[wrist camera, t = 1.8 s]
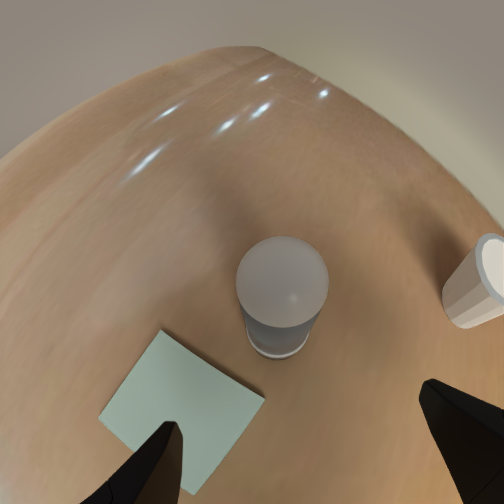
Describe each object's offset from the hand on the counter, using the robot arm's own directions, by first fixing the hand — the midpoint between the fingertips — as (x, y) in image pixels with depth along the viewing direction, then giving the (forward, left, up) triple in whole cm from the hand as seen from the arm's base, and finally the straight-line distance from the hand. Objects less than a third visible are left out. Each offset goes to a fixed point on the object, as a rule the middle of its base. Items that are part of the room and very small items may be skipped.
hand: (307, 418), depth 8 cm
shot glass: (-11, -16, -13) cm, 23 cm away
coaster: (+7, +5, -12) cm, 15 cm away
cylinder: (+4, -5, -12) cm, 14 cm away
